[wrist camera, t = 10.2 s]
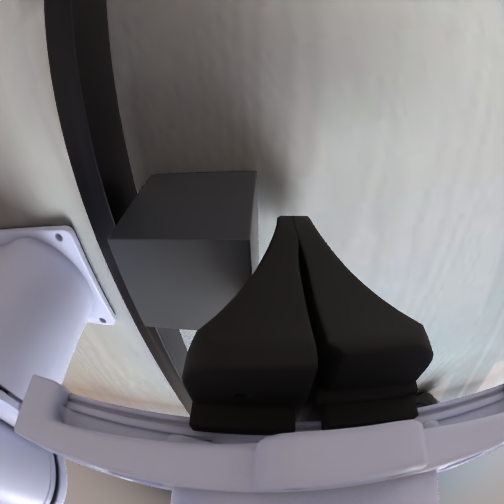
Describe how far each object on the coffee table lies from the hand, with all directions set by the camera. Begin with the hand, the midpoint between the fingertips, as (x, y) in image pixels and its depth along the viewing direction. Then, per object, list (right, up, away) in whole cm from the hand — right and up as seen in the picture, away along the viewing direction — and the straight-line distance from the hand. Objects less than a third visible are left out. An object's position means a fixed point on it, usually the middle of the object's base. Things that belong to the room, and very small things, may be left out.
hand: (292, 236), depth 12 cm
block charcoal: (-4, +1, +1) cm, 4 cm away
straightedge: (-7, +1, +2) cm, 7 cm away
